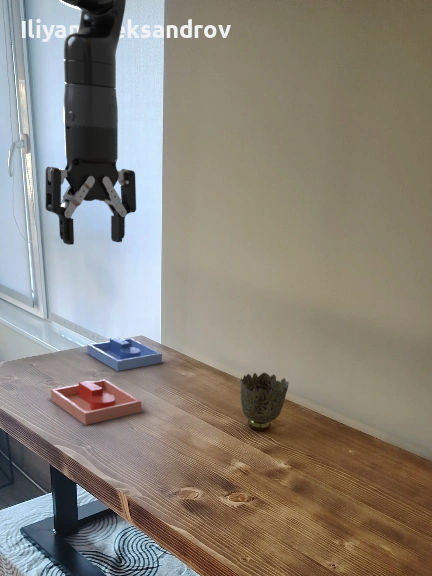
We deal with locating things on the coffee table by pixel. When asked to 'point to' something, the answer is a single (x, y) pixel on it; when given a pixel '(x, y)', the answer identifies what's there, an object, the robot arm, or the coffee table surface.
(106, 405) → the red stepped block
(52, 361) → the coffee table surface
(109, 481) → the coffee table surface
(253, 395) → the cup
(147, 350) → the blue tray
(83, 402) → the red tray
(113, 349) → the blue rounded block
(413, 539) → the coffee table surface
